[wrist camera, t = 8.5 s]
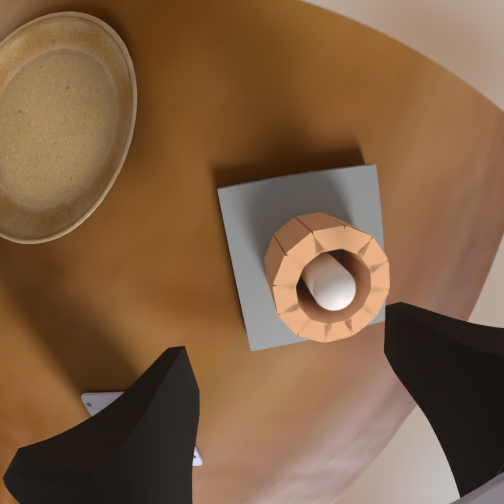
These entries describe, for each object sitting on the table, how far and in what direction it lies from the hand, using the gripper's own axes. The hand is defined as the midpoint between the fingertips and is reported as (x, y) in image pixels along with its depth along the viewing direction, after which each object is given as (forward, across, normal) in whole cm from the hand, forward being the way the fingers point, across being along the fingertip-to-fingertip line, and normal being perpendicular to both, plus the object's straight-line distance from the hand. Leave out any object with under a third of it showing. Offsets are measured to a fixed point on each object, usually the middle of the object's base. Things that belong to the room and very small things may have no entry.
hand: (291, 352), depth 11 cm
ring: (+8, -3, 0) cm, 8 cm away
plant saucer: (+10, +12, -12) cm, 20 cm away
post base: (+9, -3, 0) cm, 10 cm away
